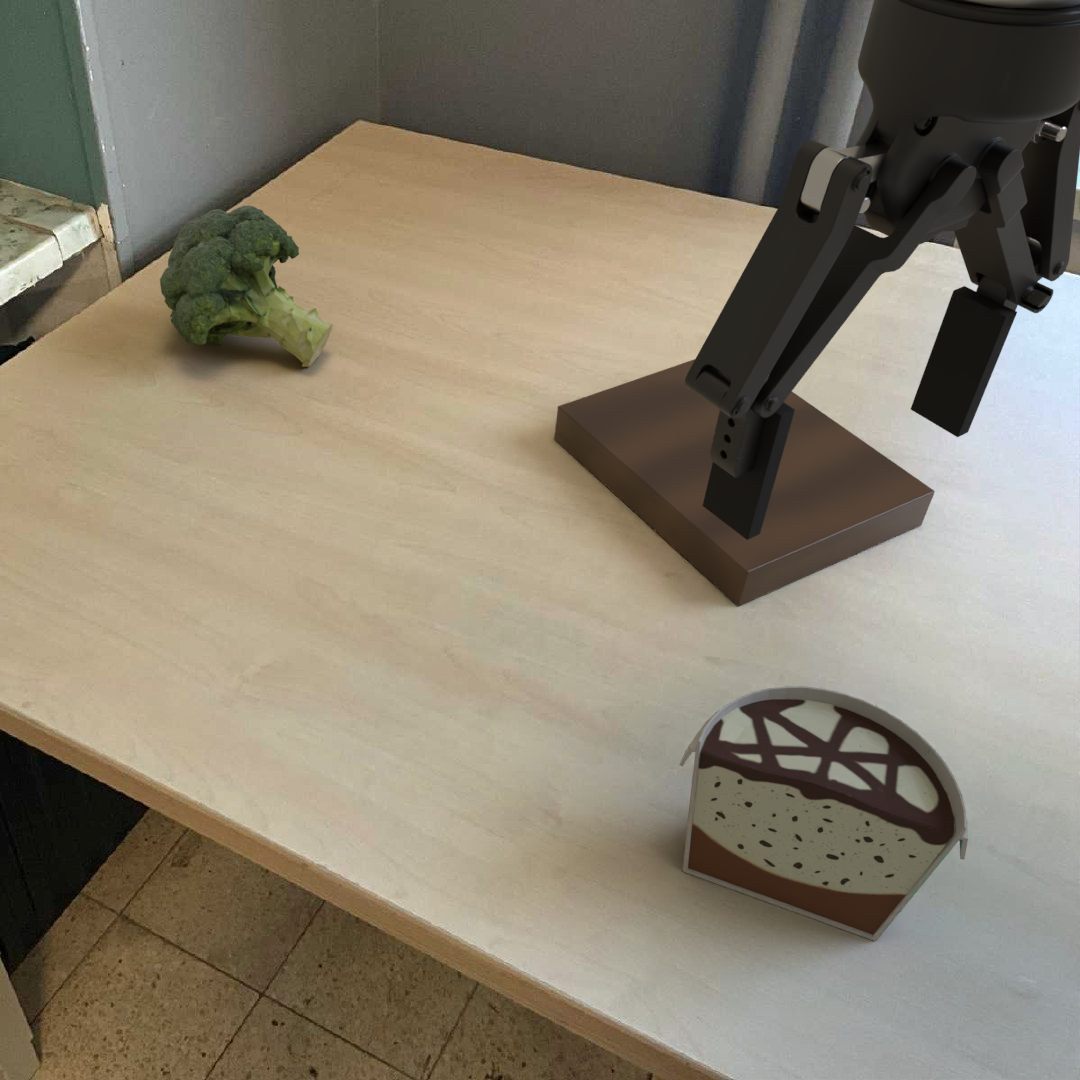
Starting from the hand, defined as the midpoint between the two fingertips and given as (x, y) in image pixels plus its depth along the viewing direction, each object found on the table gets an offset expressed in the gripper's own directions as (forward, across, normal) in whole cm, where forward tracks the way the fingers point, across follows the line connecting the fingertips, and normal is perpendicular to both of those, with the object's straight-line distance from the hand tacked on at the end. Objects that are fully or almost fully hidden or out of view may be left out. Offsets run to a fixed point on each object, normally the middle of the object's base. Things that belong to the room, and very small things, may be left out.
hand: (839, 468), depth 53 cm
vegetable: (+19, +5, -51) cm, 55 cm away
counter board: (+18, -15, -17) cm, 29 cm away
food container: (+19, +5, +7) cm, 21 cm away
